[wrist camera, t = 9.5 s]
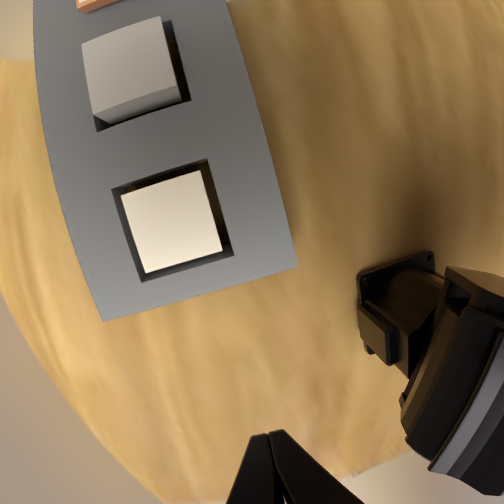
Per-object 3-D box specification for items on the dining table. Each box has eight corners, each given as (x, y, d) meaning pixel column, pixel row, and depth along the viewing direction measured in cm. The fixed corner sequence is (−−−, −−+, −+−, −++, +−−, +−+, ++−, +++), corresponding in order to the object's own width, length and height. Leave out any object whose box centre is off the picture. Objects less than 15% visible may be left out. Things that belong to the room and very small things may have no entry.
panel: (194, -62, 13) (194, -95, 10) (284, 253, 19) (303, 271, 16) (50, -14, 13) (30, -38, 9) (116, 301, 19) (98, 329, 15)
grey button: (166, 39, 14) (159, 15, 11) (181, 100, 15) (176, 85, 12) (99, 62, 14) (81, 44, 11) (111, 124, 15) (93, 114, 12)
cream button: (201, 171, 17) (199, 170, 14) (220, 239, 18) (222, 250, 15) (134, 192, 17) (120, 195, 14) (154, 258, 18) (145, 273, 15)
